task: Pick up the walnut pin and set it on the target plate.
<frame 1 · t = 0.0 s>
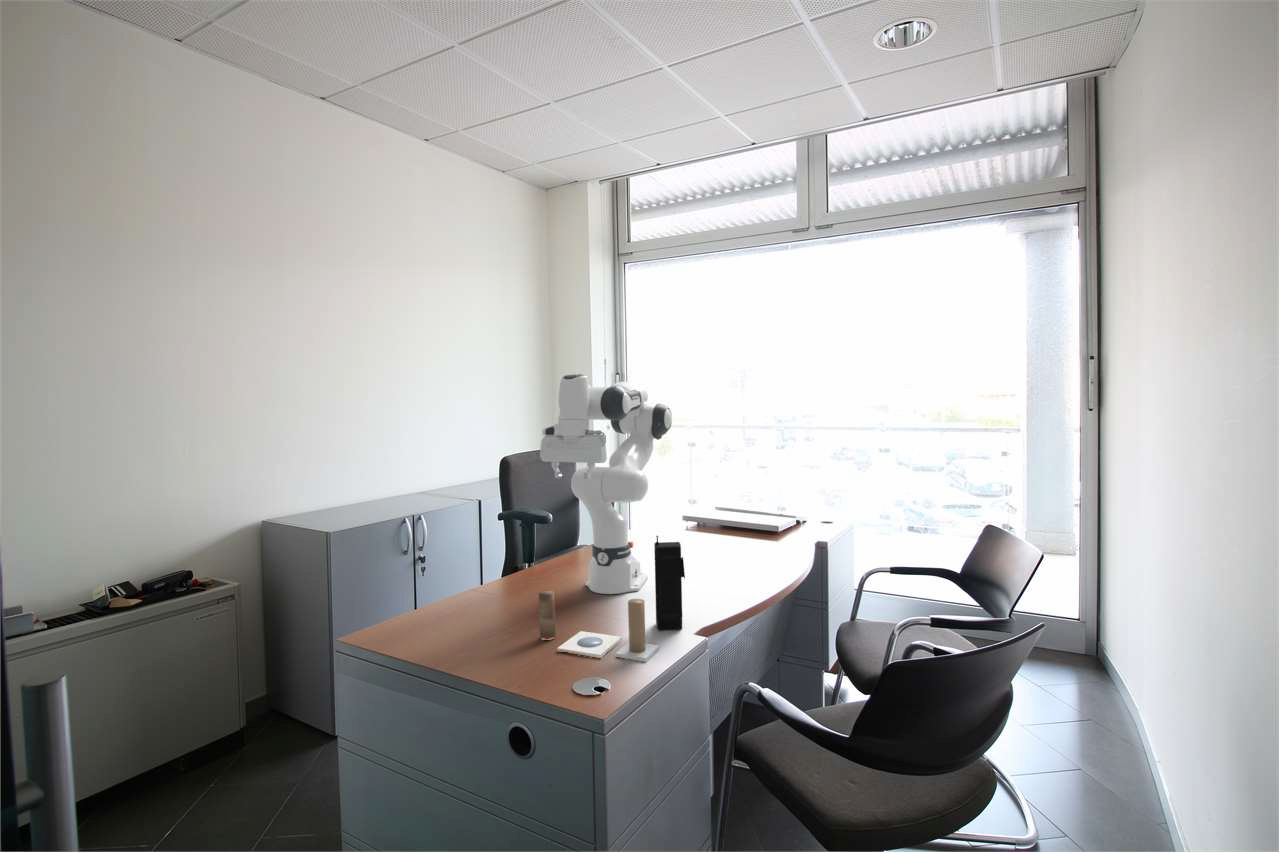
hand: (572, 478, 195), 39 cm above the table, tool pointing down, fingers open, 8 cm apart
target plate: (590, 646, 171), on the table
tan wooden dowel: (637, 653, 166), on the table
portable radio: (671, 626, 184), on the table
walnut pin: (547, 638, 177), on the table
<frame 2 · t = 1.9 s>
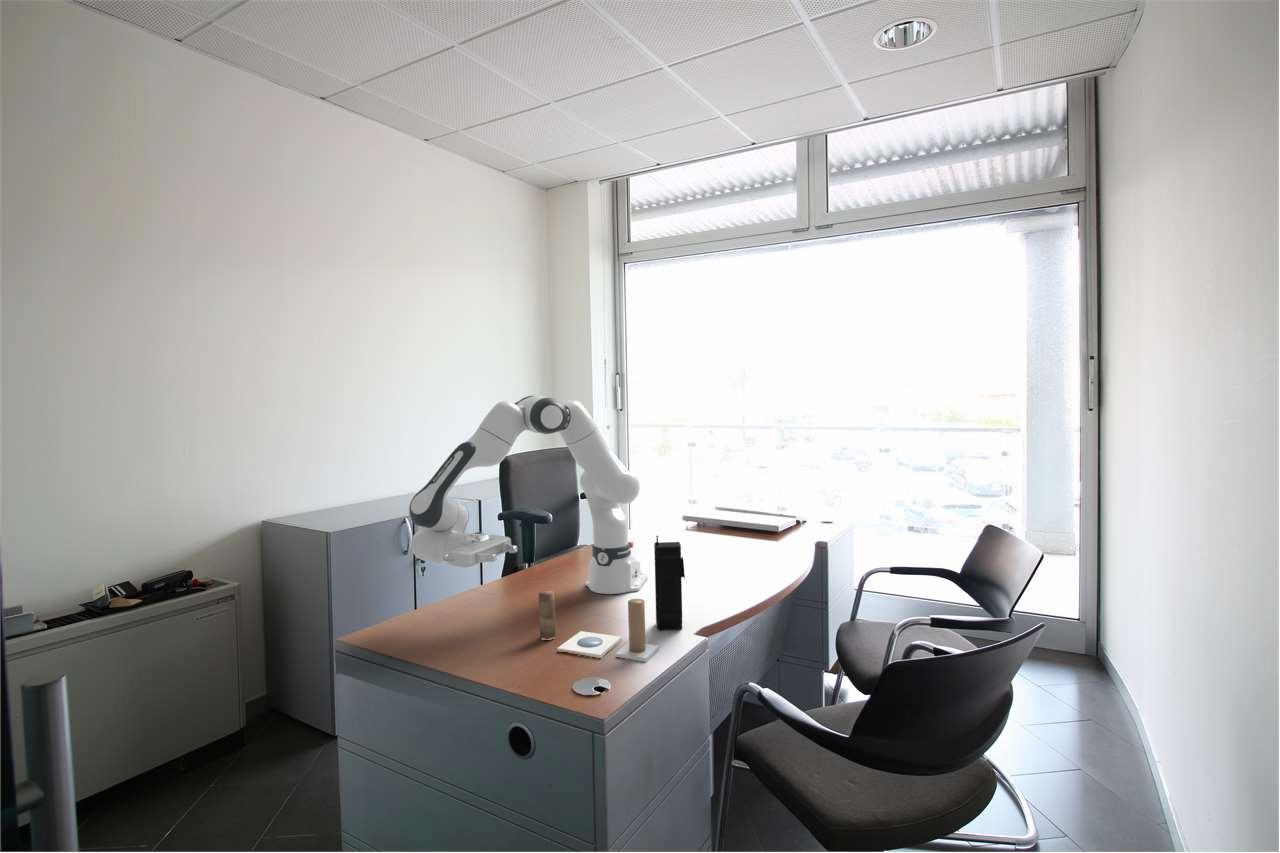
hand: (505, 553, 181), 21 cm above the table, tool horizontal, fingers open, 8 cm apart
nothing on the table moved.
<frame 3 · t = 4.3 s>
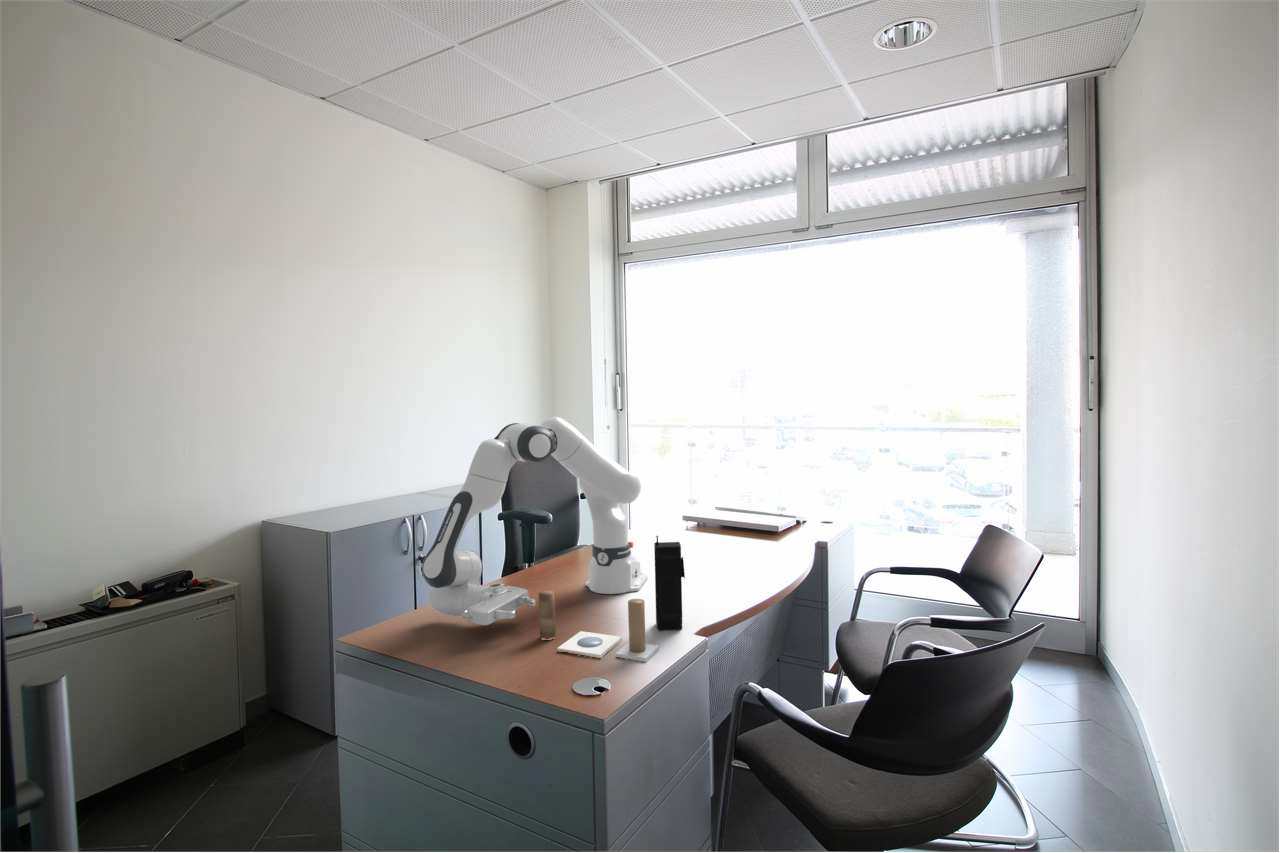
hand: (524, 609, 180), 7 cm above the table, tool horizontal, fingers open, 8 cm apart
nothing on the table moved.
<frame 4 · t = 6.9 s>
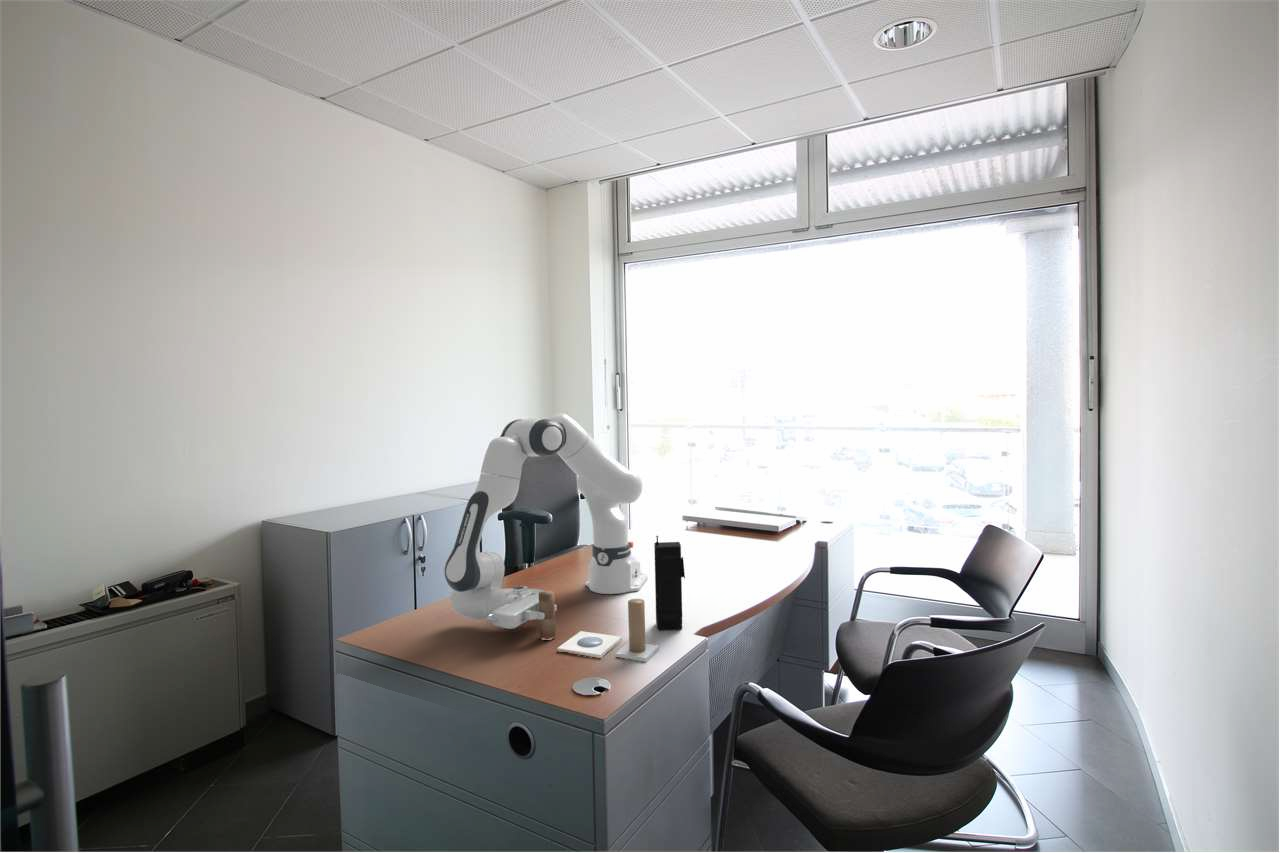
hand: (550, 612, 177), 7 cm above the table, tool horizontal, fingers closed on walnut pin, 4 cm apart
walnut pin: (547, 638, 177), on the table, touching gripper
everything else where it was.
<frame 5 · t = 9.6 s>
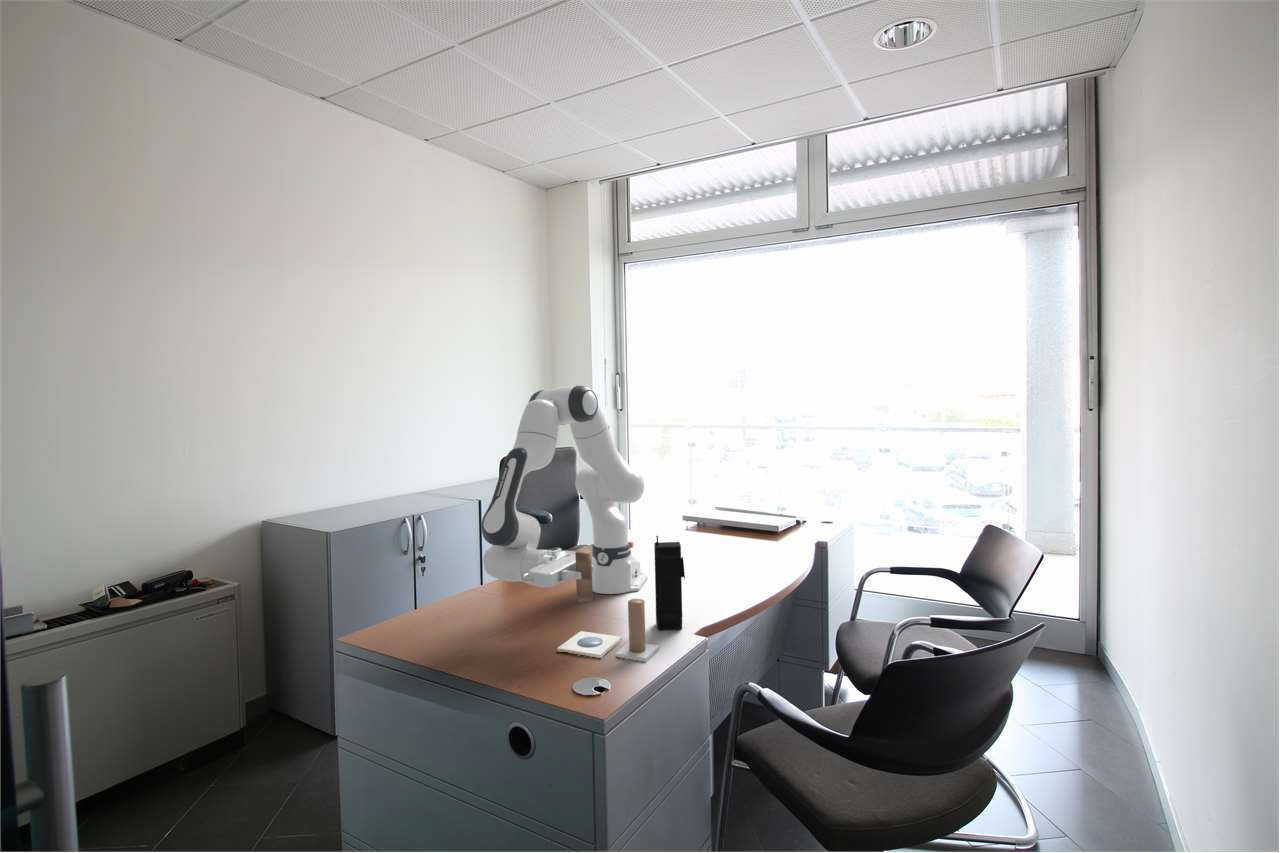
hand: (587, 572, 170), 19 cm above the table, tool horizontal, fingers closed on walnut pin, 4 cm apart
walnut pin: (584, 599, 171), point 12 cm above the table, touching gripper
everything else where it was.
when the fingers open (9 cm above the table, at t = 12.8 s): walnut pin drops 1 cm, resting on target plate.
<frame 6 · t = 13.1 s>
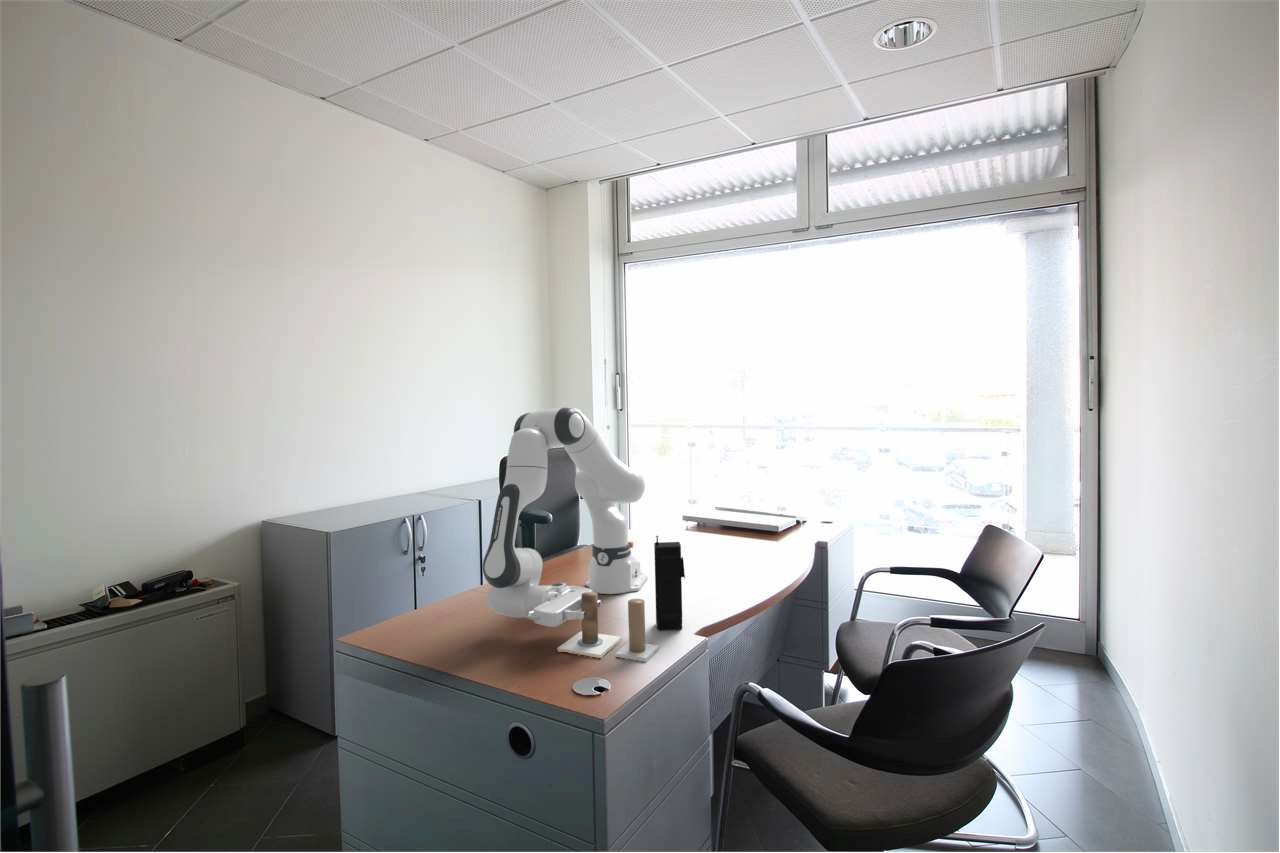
hand: (592, 609, 170), 9 cm above the table, tool horizontal, fingers open, 7 cm apart
walnut pin: (590, 641, 171), point 1 cm above the table, touching target plate
everything else where it was.
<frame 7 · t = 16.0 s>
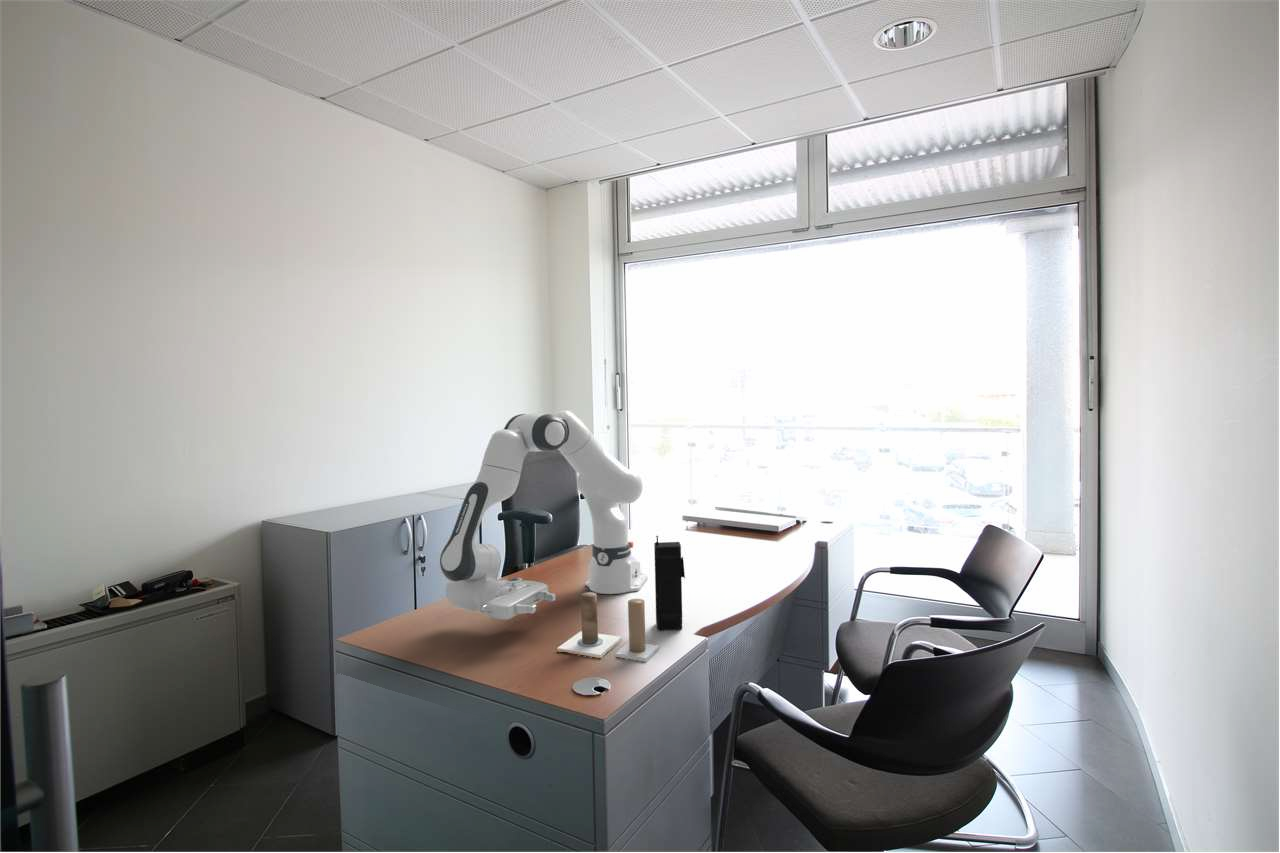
hand: (544, 603, 176), 10 cm above the table, tool horizontal, fingers open, 8 cm apart
nothing on the table moved.
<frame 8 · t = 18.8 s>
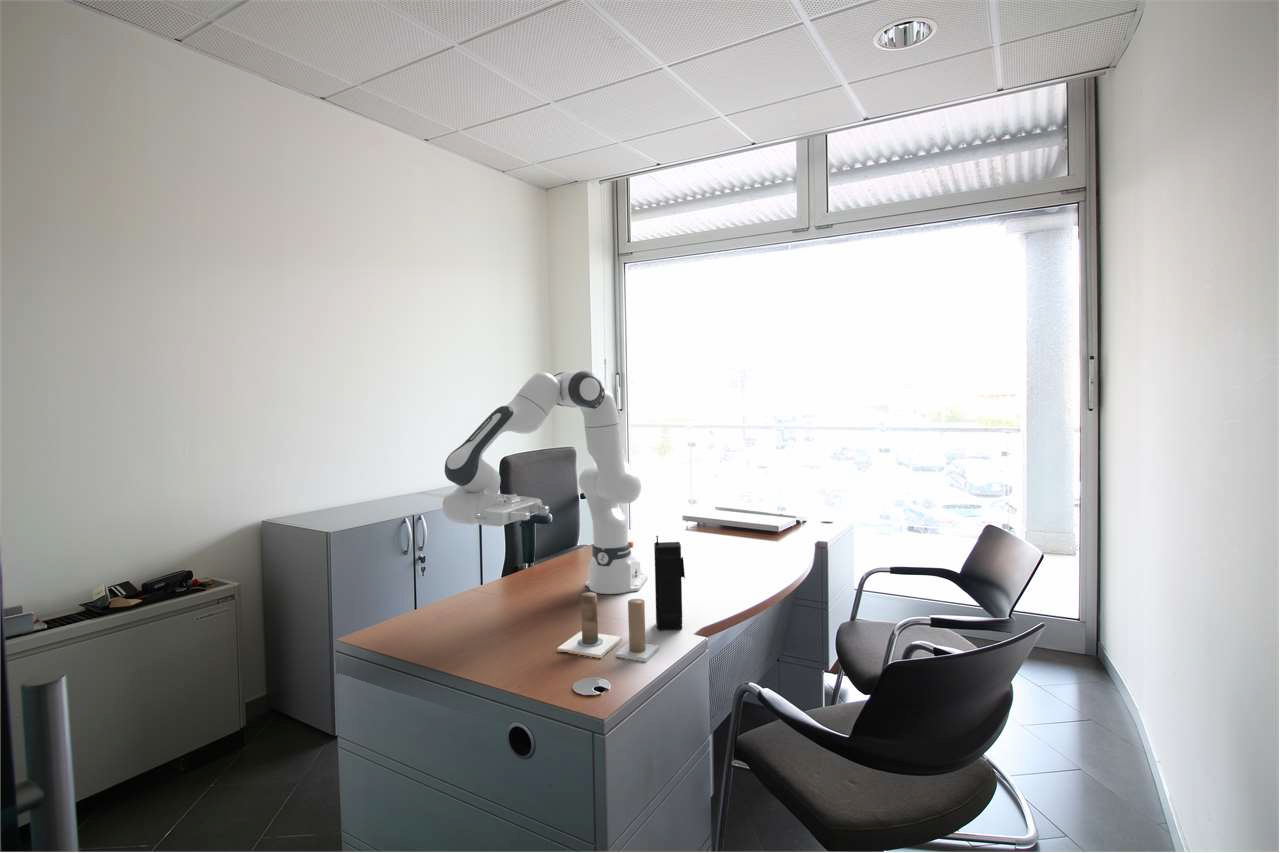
hand: (538, 513, 180), 32 cm above the table, tool horizontal, fingers open, 8 cm apart
nothing on the table moved.
at the end: walnut pin 0.0 cm from the target spot, point 1.2 cm above the table; walnut pin tilted 0°; the gripper is holding nothing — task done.
